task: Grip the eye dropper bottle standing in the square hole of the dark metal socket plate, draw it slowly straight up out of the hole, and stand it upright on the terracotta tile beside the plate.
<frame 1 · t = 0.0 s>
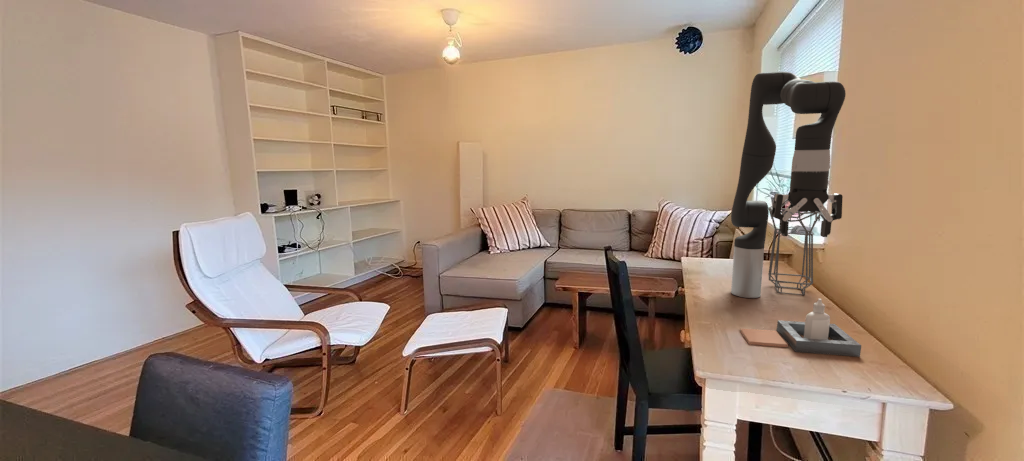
hand: (803, 236, 107), 29 cm above the table, tool pointing down, fingers open, 8 cm apart
terracotta tile: (762, 338, 118), on the table
socket plate: (815, 342, 115), on the table
eye dropper bottle: (815, 343, 115), resting in socket plate
geometric lantern: (787, 290, 159), on the table
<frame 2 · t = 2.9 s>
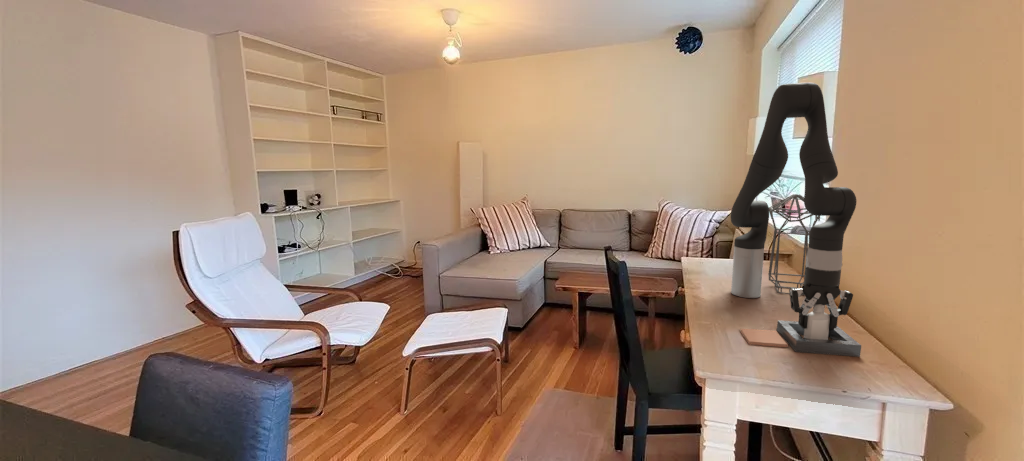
hand: (816, 328, 115), 4 cm above the table, tool pointing down, fingers closed on eye dropper bottle, 5 cm apart
eye dropper bottle: (815, 343, 115), resting in socket plate, touching gripper
everything else where it was.
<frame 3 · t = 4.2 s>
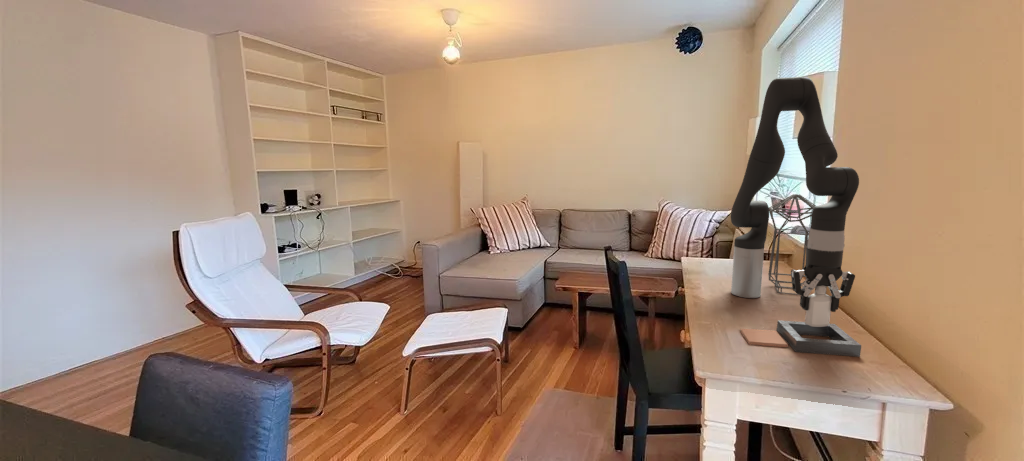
hand: (818, 309, 114), 9 cm above the table, tool pointing down, fingers closed on eye dropper bottle, 5 cm apart
eye dropper bottle: (816, 325, 115), point 5 cm above the table, touching gripper
everything else where it was.
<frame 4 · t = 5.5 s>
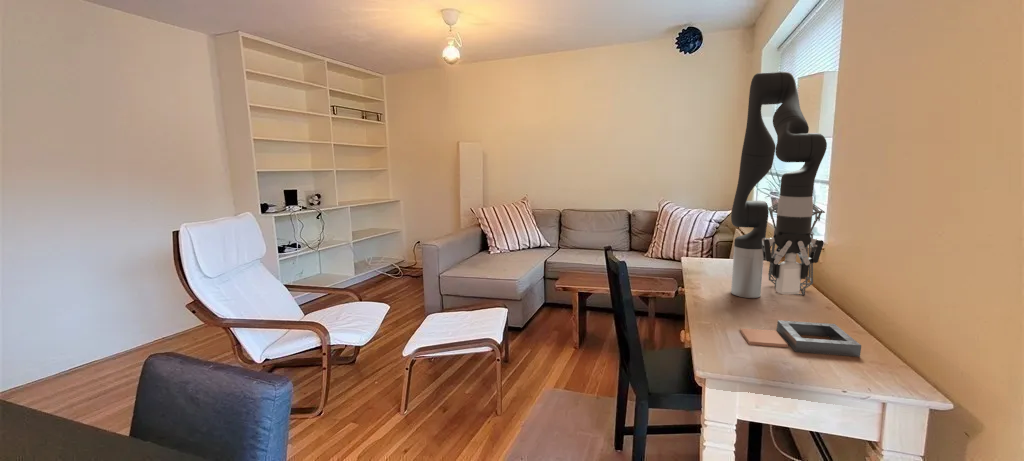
hand: (788, 277, 114), 17 cm above the table, tool pointing down, fingers closed on eye dropper bottle, 5 cm apart
eye dropper bottle: (787, 293, 115), point 13 cm above the table, touching gripper
everything else where it was.
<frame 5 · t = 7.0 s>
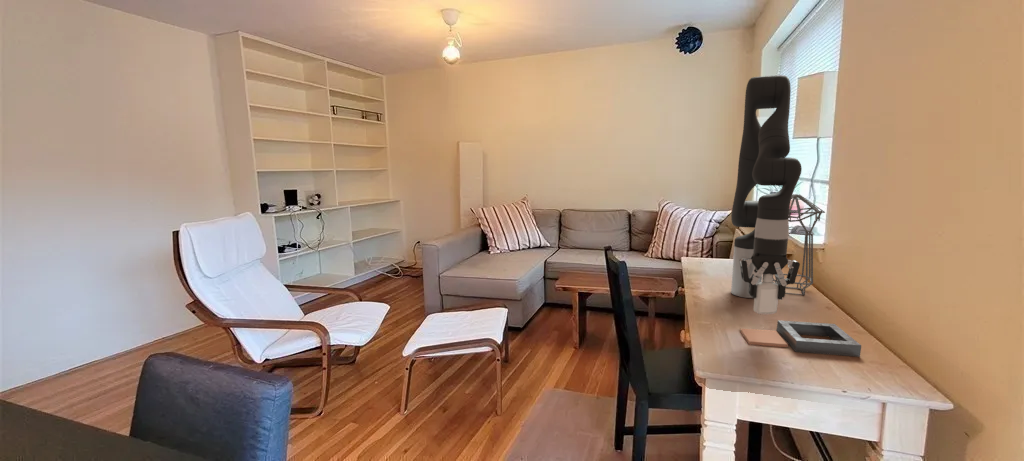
hand: (766, 297, 116), 12 cm above the table, tool pointing down, fingers closed on eye dropper bottle, 5 cm apart
eye dropper bottle: (764, 313, 117), point 7 cm above the table, touching gripper
everything else where it was.
when the fingers open (6 cm above the table, at t = 8.4 s): eye dropper bottle drops 1 cm, resting on terracotta tile.
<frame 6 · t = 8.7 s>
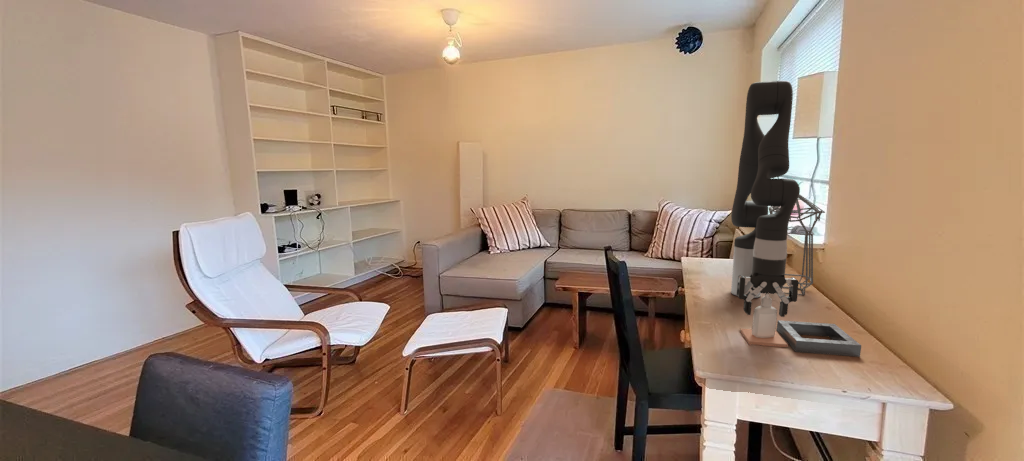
hand: (764, 315, 117), 7 cm above the table, tool pointing down, fingers open, 7 cm apart
eye dropper bottle: (762, 336, 118), point 1 cm above the table, touching terracotta tile
everything else where it was.
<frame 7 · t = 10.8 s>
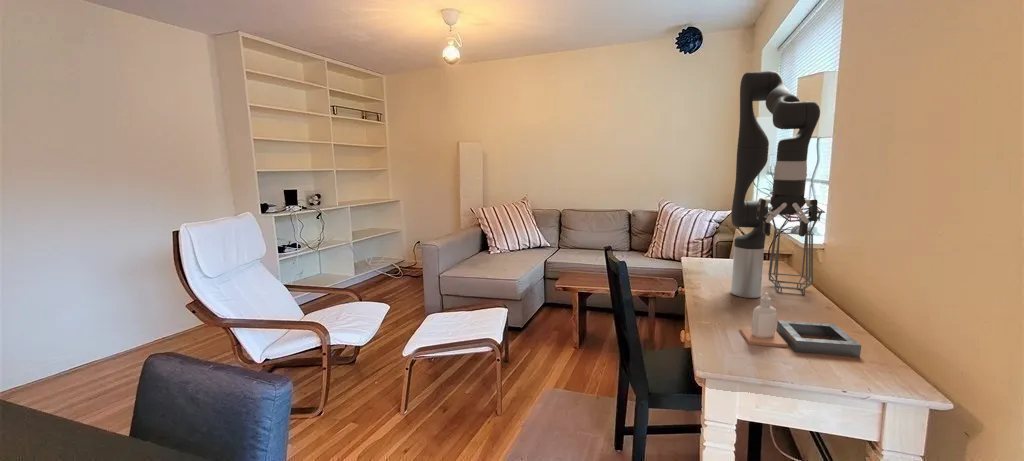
hand: (784, 235, 123), 26 cm above the table, tool pointing down, fingers open, 8 cm apart
nothing on the table moved.
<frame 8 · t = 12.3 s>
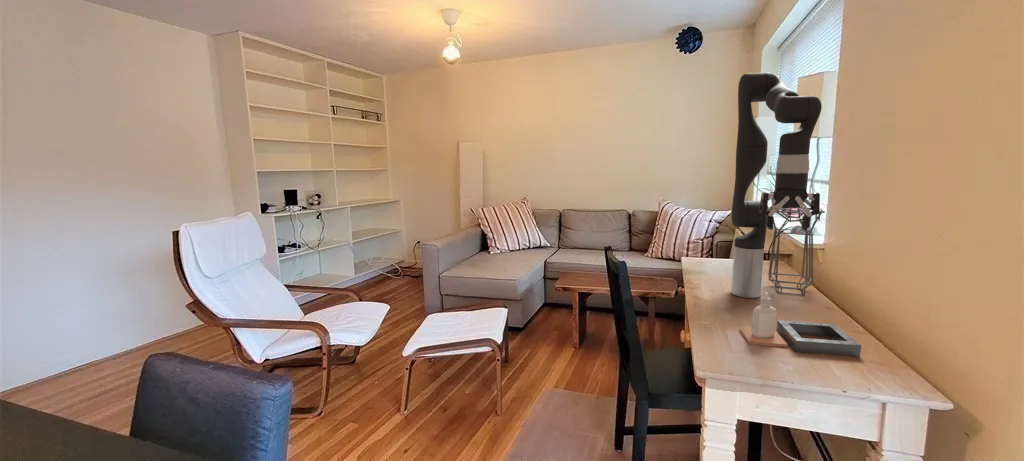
hand: (786, 229, 123), 28 cm above the table, tool pointing down, fingers open, 8 cm apart
nothing on the table moved.
at the end: eye dropper bottle inside the target area on the terracotta tile (0.1 cm from its centre), point 0.6 cm above the terracotta tile's base; eye dropper bottle tilted 0°; the gripper is holding nothing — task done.
